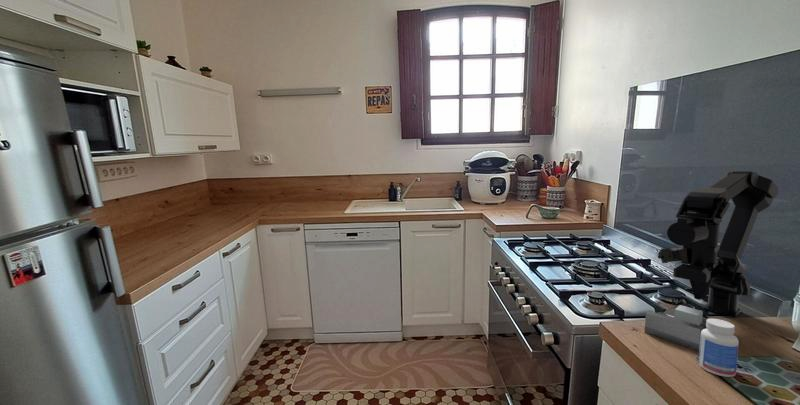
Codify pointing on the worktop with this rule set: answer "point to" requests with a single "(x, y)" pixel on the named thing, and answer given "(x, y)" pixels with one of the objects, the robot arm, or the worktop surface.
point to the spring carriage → (688, 315)
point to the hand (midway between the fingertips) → (697, 299)
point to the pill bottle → (719, 348)
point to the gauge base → (674, 329)
